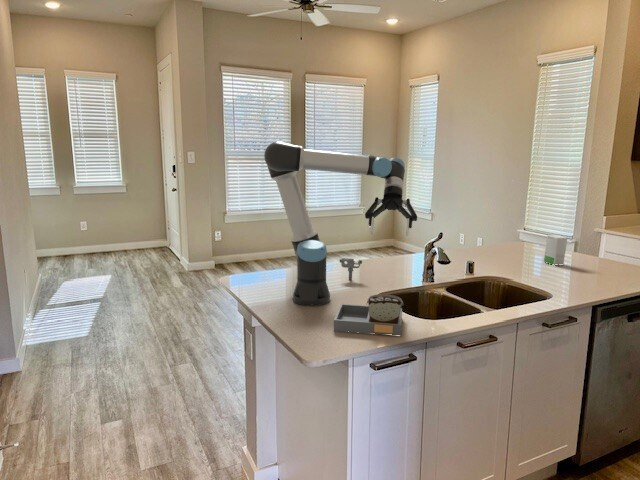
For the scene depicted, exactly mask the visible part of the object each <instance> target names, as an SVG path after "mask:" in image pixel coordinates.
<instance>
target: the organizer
mask: <svg viewBox="0 0 640 480" xmlns="http://www.w3.org/2000/svg"><path fill="white" fill-rule="evenodd" d="M402 320H403V308H402V307H401V311H400V317H399V323H398V324H390V323H377V322H370V319H369V305H362V304H361V305H360V304H351V303H350V304H347V303H340V304H339V307H338V309H337V312H336V314H335V316H334V319H333V332H338V331H345V332H344V333H350V332H359V333H358V334H362V333H375V334H392V335H401V336H402V327H403V326H402V325H403V324H402V323H403V321H402ZM346 331H347V332H346ZM348 331H349V332H348Z"/></svg>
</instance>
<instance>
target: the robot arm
mask: <svg viewBox="0 0 640 480" xmlns="http://www.w3.org/2000/svg"><path fill="white" fill-rule="evenodd" d="M263 154H264V156H263V158H264V162H265V164H266V166H267V169H268V173H269V176H270V178H271V180H273V181H275V182H276V186H277V189H278V192H279V194H280V199H281V201H282V205H283V207H284V210H285V213H286V216H287V220H288V223H289V227H290V231H291V232H292V237H291V239H290V241H291V244H292V248H293V250H294V254H295V257H296V262H297V263H296V267H297V268H296V269H297V270H296V272H297V275H296V276H297V277H296V283H295V287H294V291H293V293H292V301H293V302H294V303H296V304H298V305H301V306H311V307H312V306H321V305H326V304H328V303H330V301H331V294H330V293H331V292H330V290H329V287H328V283H327V255H328V249H327V246H326V244H325V243H324V242H322V241H321V240H320V237H319V235H318V231H316V230H314V229H313V227H312V224H311V220H310V216H309V213H308V211H307V207H306V204H305V201H304V197H303V194H302V190H301V188H300V183H299V181H298V177H297V173H298V172H301V170H309V171H310V170H311V171H320V172H330V173H343V174H351V175H360V176H361V175H363V176H370V177H371V176H372V177H378V178H381V179H384V180H385V182H384V189H383V197H382V198H379V197H378V196H377V197H375V199H374V202H373V203H372V204H371V205H370V206H369V208H368V209H367V211H365V212H364V213H365V214H364V217H365V219H367V220H368V226H369V227H370V230H369V232H370V235H374V228H375V227H374V225H375V218H377V217H378V216H379V215H380V214H382V213H383V212H385V211H386V210H388V211H396V210H397V211H398V212H399V213H401V215H402V216H403V217H404V218H405V219H406V235H405V236H406V237H409V232H410V231H409V230H410V229H412V228H413V227H412V226H413V222H417V221H418V215H417V213H416V211H415V209H414V208H413V206H412V204H411V199H410V198H407V199H403V193H404V192H403V190H404V180H405V179H404V178H405V173H406V172H405V171H406V167H405V162H404V161H403V159H401V158H399V157H392V158H390V159H389V158H387V157H385V156H375V155H372V154H368V153H362V154H355V153H347V152H346V153H345V152H338V151H337V152H335V151H326V150H318V149H317V150H316V149H306V148H304V147H303V146H302V145H295V144H291V143H288V142H287V143H286V142H285V141H279V140H277V141H274V142H271V143H269V144H268V146H267V147H266V148H265V150H264V153H263ZM380 204H381V205H380ZM379 205H380V206H379ZM403 205H404V206H405V207H406V208H407V210H406V208H404V206H403ZM378 206H379V207H378Z"/></svg>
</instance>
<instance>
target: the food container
mask: <svg viewBox="0 0 640 480" xmlns="http://www.w3.org/2000/svg"><path fill="white" fill-rule="evenodd" d="M366 304H367V306H369V319H370V322H377V323H390V324H398V323H399V317H400V311H401V308H402V306H404V301H403V299H402V298H401V297H399V296H397V295H393V294H387V293H385V294H381V293H379V294H372V295H370V296H369V297H368V298H367V301H366Z"/></svg>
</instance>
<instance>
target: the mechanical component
mask: <svg viewBox="0 0 640 480" xmlns="http://www.w3.org/2000/svg"><path fill="white" fill-rule="evenodd" d="M339 263H340V265H341V267H342V268H345V269H346V268H347V271H348V281H351V282H352V281H353V272H354V269H360V267H361V264H363V260H361V259H358V261H357V262H356V261H355V259H354V258H345V257H344V258H343V257H342V258H340V259H339Z"/></svg>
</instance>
